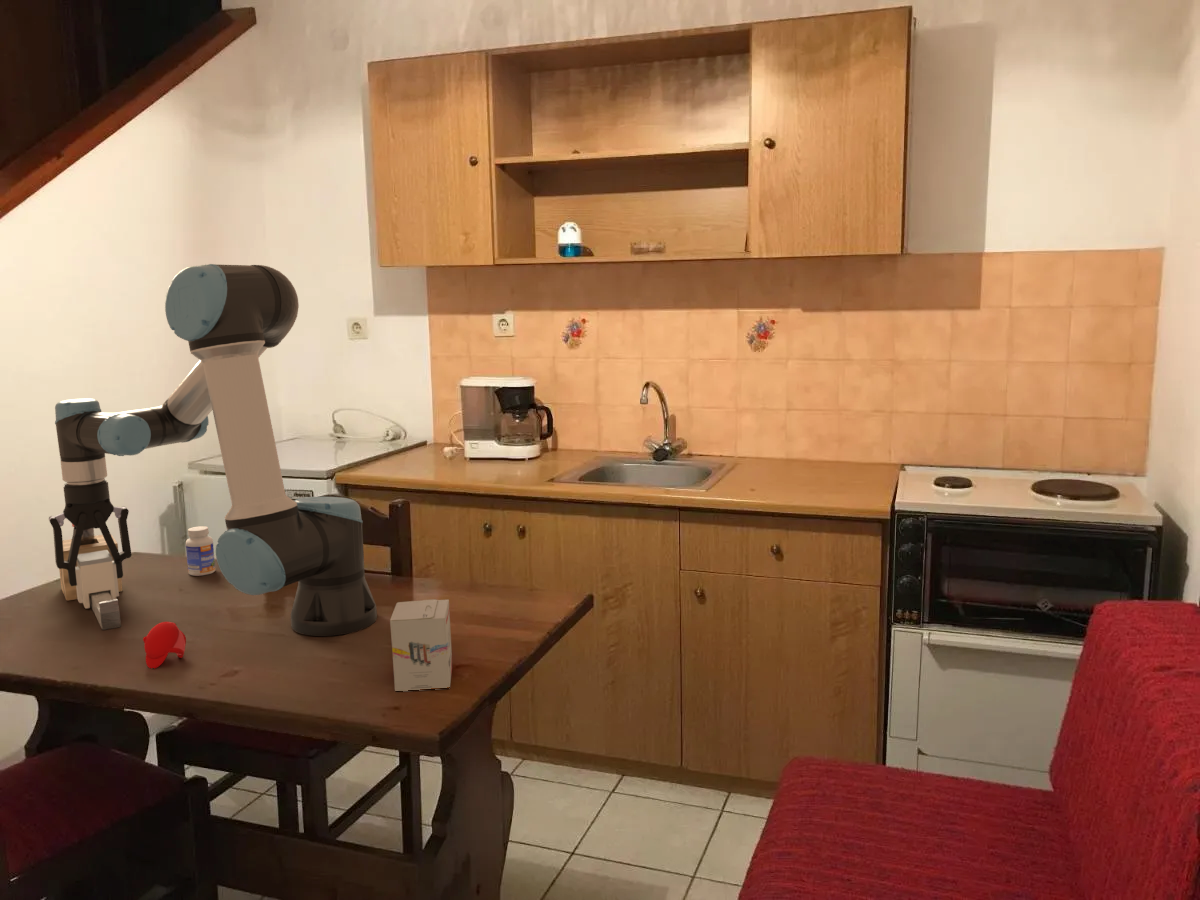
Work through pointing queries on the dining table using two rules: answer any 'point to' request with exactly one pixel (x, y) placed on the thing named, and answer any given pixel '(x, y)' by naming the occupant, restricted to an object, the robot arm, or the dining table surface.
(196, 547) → the pill bottle
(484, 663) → the dining table surface
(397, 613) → the ink box
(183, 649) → the cap
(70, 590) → the wooden red button box
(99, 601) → the rail
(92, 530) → the red push button
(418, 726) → the dining table surface
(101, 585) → the block
